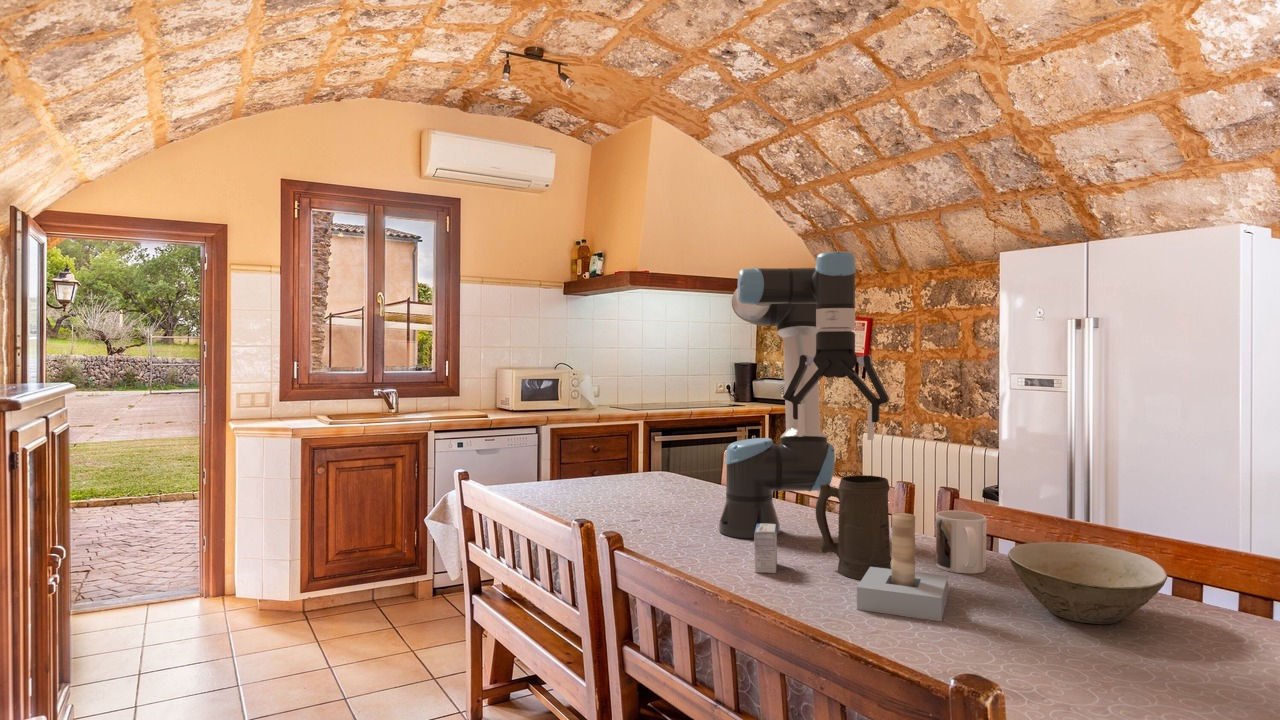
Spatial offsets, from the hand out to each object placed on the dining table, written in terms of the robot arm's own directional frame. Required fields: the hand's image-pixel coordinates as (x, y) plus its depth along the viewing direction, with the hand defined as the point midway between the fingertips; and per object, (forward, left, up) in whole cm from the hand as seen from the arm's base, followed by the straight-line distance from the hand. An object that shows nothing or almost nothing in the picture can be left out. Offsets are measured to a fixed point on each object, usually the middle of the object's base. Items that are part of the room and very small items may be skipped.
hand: (835, 437), depth 152 cm
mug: (-20, +22, -29) cm, 41 cm away
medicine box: (-3, -15, -29) cm, 33 cm away
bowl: (+1, +43, -29) cm, 52 cm away
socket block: (+8, +14, -29) cm, 33 cm away
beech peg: (+8, +14, -29) cm, 33 cm away
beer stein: (-8, +2, -29) cm, 30 cm away
